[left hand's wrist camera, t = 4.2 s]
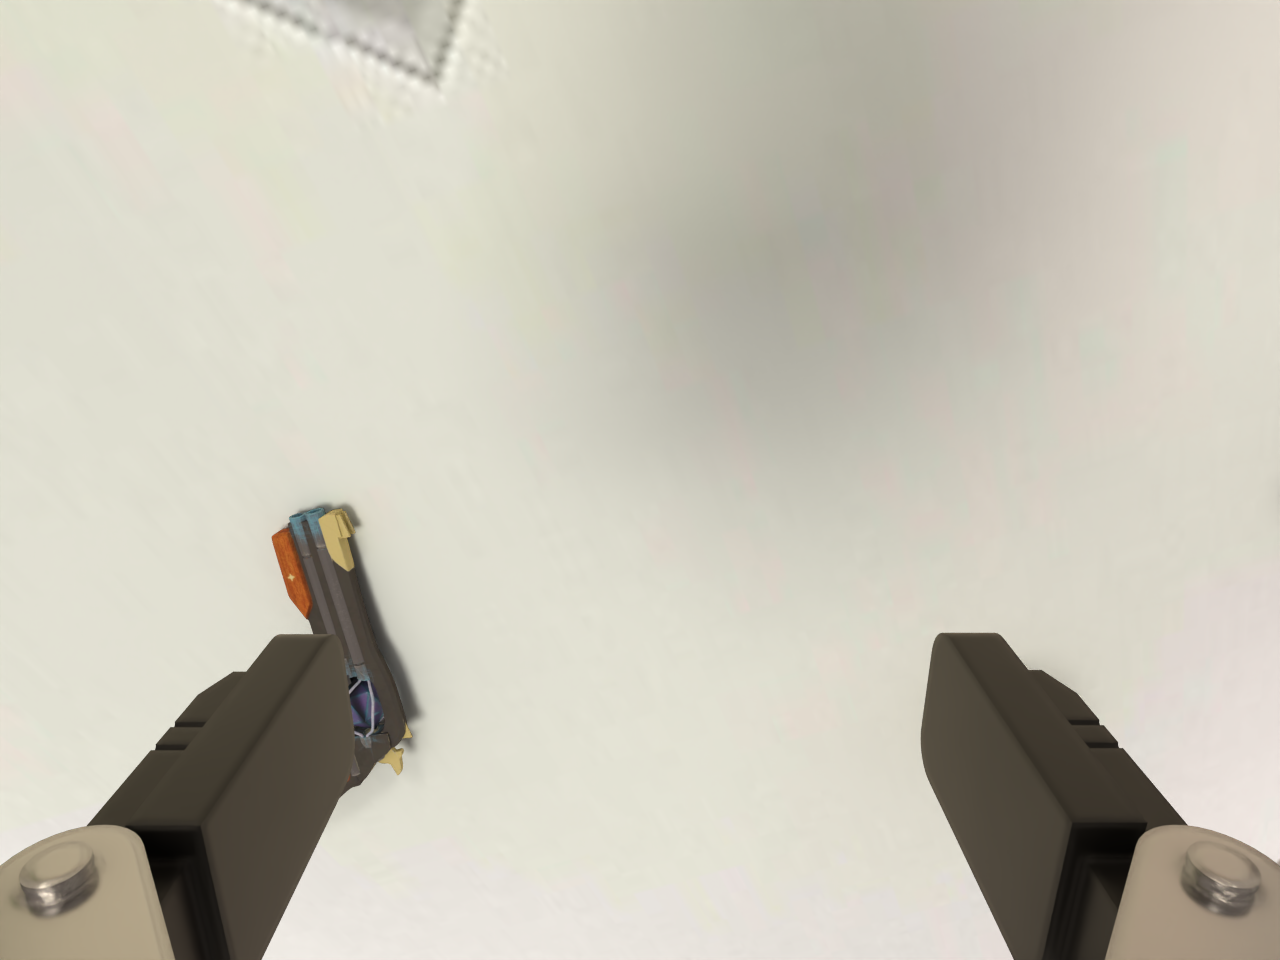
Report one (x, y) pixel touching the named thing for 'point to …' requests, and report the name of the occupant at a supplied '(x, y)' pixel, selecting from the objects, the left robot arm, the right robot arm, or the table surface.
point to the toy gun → (344, 630)
